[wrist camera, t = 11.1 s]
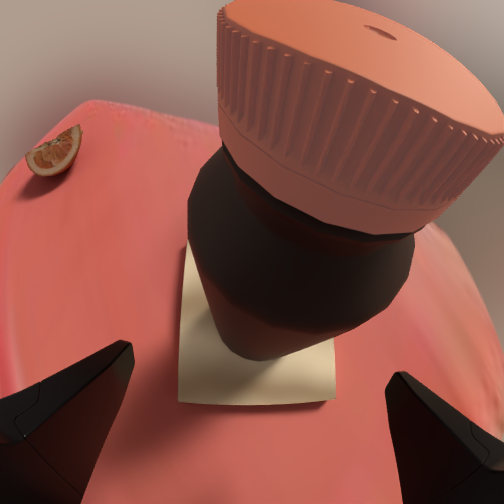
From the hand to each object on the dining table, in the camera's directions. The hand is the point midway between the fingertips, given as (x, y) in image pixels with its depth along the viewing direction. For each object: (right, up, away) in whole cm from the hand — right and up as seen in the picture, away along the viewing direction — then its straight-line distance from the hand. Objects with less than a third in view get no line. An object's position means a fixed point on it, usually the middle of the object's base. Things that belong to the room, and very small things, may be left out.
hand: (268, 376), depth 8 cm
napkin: (0, -2, +14) cm, 14 cm away
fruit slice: (-25, +15, +21) cm, 36 cm away
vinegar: (0, -1, +13) cm, 13 cm away
